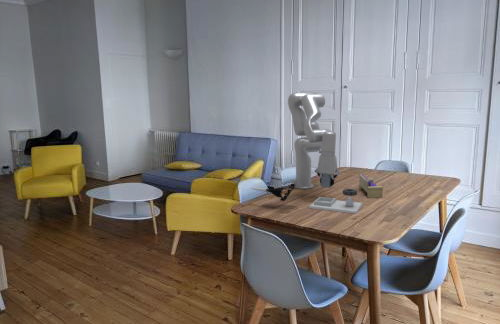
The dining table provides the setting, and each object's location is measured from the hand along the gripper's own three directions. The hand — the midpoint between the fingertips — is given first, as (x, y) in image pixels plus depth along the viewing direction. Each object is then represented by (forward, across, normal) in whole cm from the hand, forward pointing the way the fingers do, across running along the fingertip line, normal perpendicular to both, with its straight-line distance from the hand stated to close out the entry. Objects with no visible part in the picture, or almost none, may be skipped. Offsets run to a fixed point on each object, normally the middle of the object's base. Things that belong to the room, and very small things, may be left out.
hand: (326, 184), depth 217 cm
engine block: (+1, 0, 0) cm, 1 cm away
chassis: (+7, +9, -14) cm, 18 cm away
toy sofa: (+8, +21, +20) cm, 30 cm away
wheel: (-1, +16, -14) cm, 21 cm away
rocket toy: (+8, -23, -26) cm, 36 cm away
